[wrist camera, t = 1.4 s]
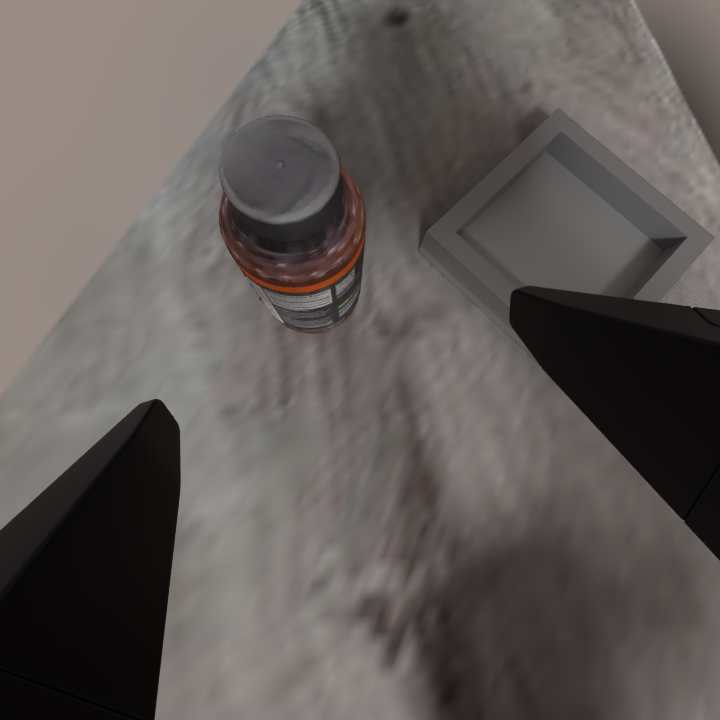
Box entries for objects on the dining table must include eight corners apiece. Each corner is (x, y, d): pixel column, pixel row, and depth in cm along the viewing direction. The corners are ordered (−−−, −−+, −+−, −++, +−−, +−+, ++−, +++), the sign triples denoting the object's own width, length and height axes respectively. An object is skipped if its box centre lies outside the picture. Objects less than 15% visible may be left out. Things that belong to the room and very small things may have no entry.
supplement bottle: (279, 238, 23) (218, 67, 12) (369, 259, 23) (389, 106, 12) (254, 324, 22) (160, 222, 11) (347, 346, 22) (348, 267, 11)
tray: (677, 256, 24) (715, 237, 22) (562, 386, 22) (590, 381, 20) (537, 138, 25) (558, 108, 23) (418, 251, 23) (426, 231, 21)
